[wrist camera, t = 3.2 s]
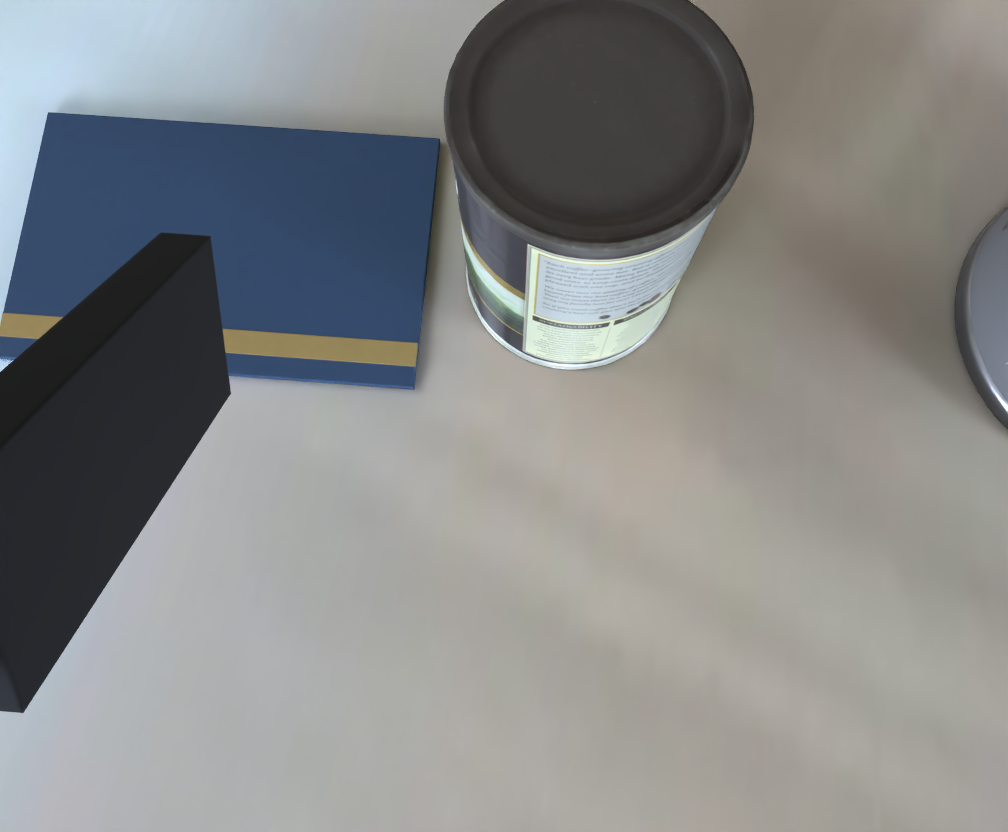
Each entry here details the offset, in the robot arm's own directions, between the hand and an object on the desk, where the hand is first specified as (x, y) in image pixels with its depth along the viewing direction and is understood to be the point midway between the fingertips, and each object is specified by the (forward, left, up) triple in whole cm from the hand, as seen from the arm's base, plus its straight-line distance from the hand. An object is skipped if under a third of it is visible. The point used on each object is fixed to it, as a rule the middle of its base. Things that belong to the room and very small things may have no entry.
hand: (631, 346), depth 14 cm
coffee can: (0, -13, -27) cm, 30 cm away
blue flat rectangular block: (+17, -13, -27) cm, 34 cm away
